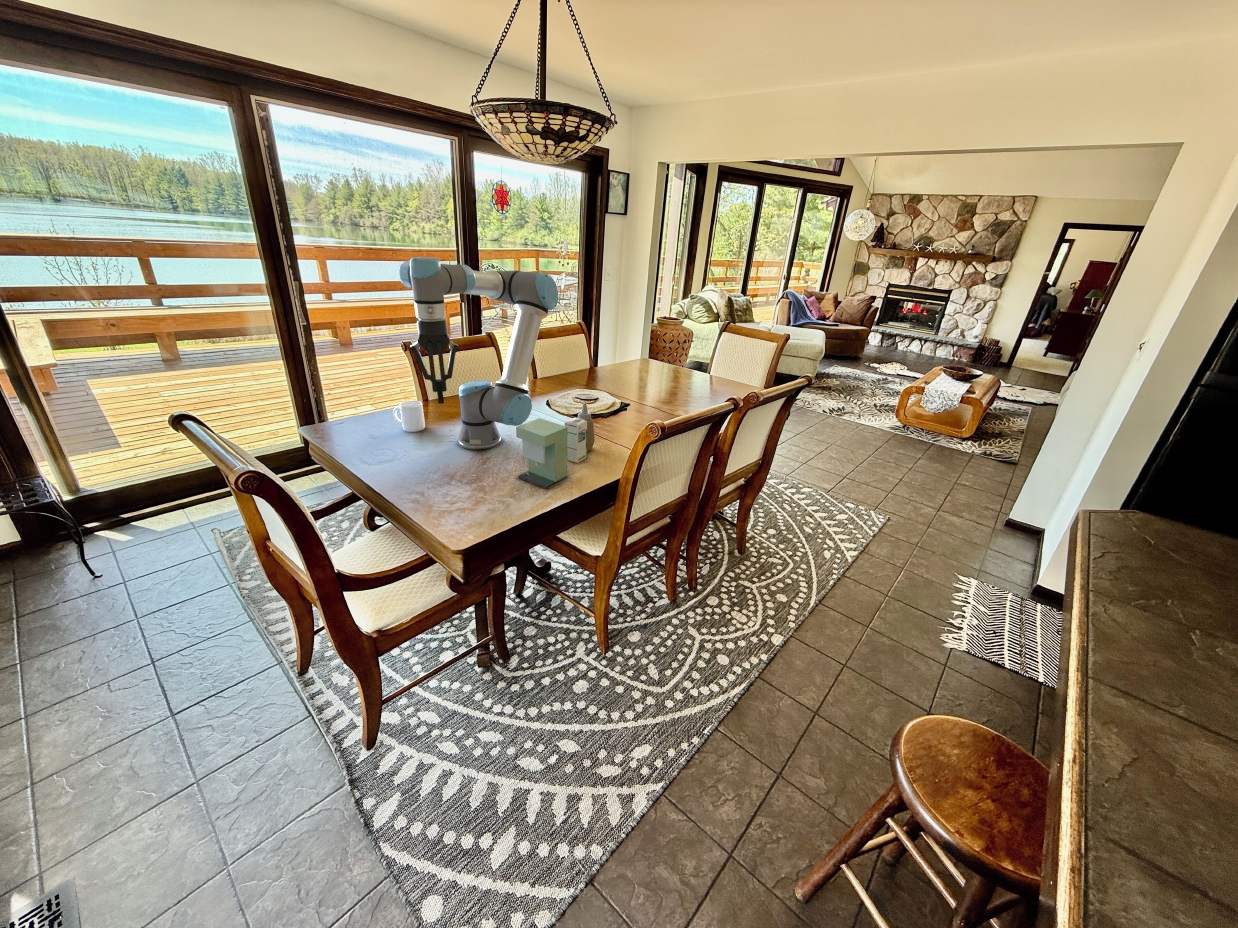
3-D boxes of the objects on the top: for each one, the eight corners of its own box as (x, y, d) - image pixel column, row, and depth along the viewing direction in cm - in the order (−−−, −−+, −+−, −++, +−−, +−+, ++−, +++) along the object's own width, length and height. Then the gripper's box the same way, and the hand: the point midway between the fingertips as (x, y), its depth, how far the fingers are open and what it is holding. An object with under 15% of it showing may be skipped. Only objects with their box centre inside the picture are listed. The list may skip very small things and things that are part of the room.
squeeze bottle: (591, 455, 175) (592, 408, 167) (570, 452, 176) (570, 405, 169) (596, 446, 182) (598, 401, 175) (576, 444, 184) (576, 399, 176)
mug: (389, 430, 187) (385, 405, 183) (400, 423, 194) (396, 399, 190) (419, 433, 186) (415, 407, 182) (429, 425, 194) (425, 401, 189)
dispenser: (545, 489, 150) (544, 436, 142) (518, 478, 156) (515, 426, 148) (567, 477, 158) (567, 426, 150) (540, 467, 164) (539, 418, 156)
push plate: (543, 464, 148) (543, 446, 145) (522, 456, 153) (522, 439, 150) (545, 463, 149) (545, 445, 146) (524, 455, 153) (523, 438, 151)
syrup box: (577, 463, 168) (578, 424, 162) (564, 459, 171) (564, 420, 165) (587, 458, 173) (587, 420, 166) (574, 453, 175) (574, 416, 169)
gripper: (404, 321, 125) (417, 407, 135) (457, 321, 129) (465, 404, 139) (405, 317, 131) (417, 399, 141) (455, 316, 136) (463, 397, 146)
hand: (441, 402), depth 140 cm, fingers closed
